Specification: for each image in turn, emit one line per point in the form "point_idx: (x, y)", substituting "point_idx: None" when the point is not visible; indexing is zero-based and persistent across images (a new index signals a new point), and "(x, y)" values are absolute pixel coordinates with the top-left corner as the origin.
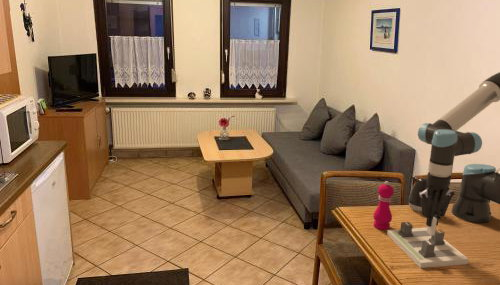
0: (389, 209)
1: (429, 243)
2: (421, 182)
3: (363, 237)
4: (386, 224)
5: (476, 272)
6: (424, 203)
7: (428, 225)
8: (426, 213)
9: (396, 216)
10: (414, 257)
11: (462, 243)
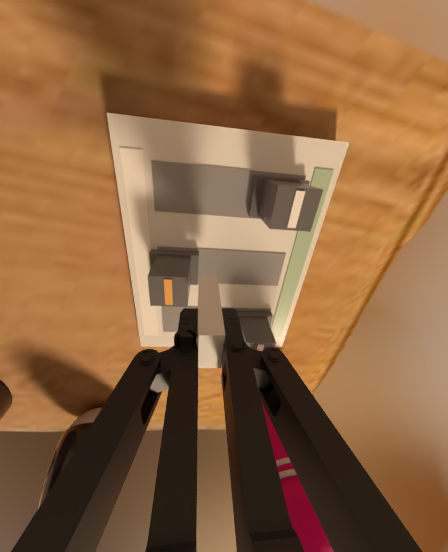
0: (267, 419)
1: (301, 199)
2: None
3: (347, 331)
4: None
5: (112, 25)
6: (379, 497)
7: (236, 312)
8: (295, 378)
9: None
10: (328, 195)
11: (59, 262)
